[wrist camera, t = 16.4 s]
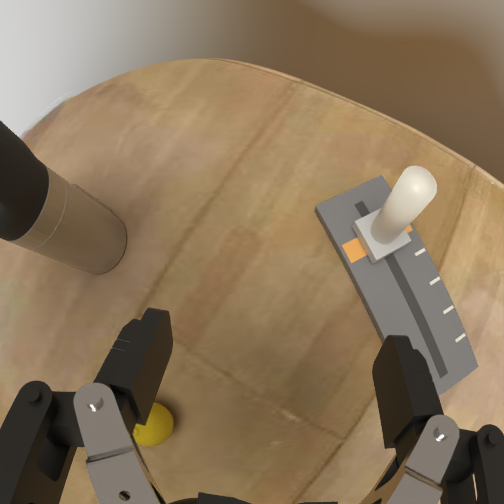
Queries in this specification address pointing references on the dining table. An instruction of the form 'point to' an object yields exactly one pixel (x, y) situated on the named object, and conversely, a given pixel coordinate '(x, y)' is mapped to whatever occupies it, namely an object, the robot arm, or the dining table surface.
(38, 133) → the dining table surface
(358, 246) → the track board
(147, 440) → the lemon
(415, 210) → the fader
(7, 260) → the dining table surface
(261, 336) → the dining table surface
